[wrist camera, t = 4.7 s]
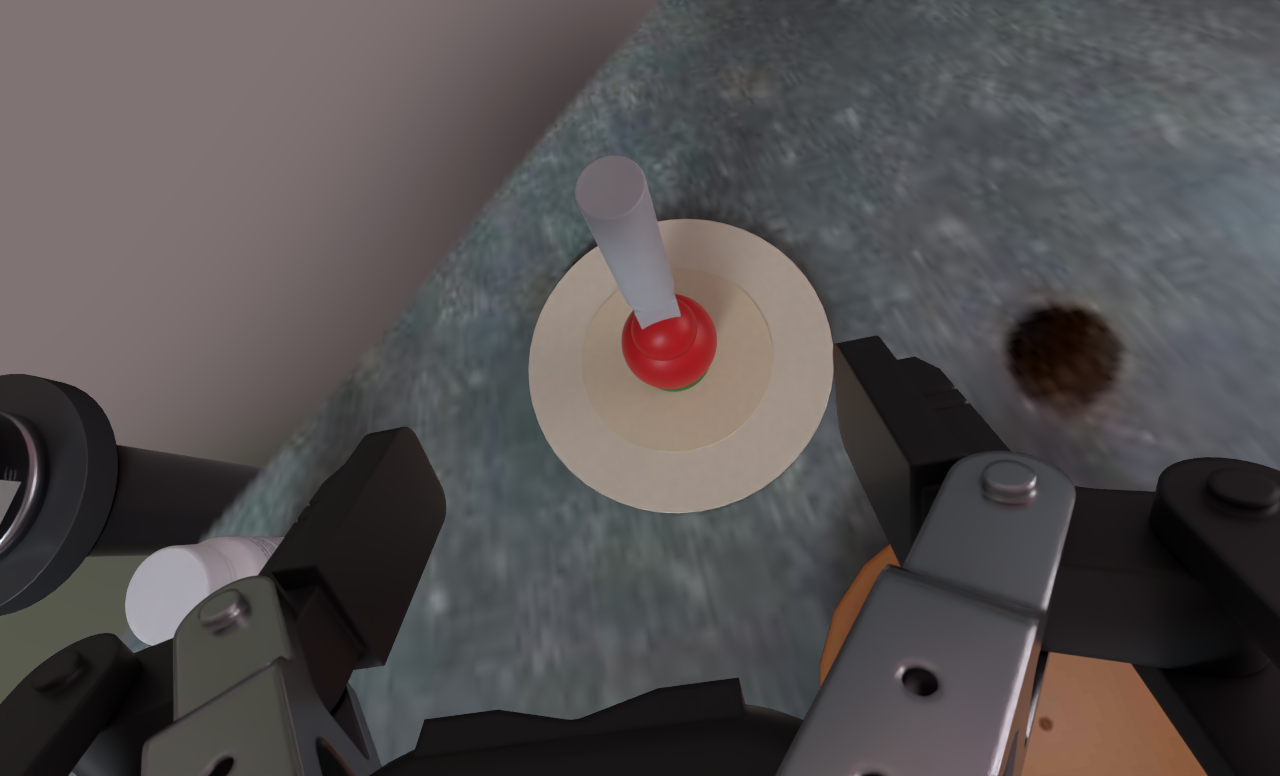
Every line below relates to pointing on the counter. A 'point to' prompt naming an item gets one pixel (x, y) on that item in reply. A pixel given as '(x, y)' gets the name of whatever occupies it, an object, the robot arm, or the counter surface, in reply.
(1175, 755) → the pie
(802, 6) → the counter surface
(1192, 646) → the robot arm
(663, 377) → the forked strawberry
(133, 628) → the pill bottle
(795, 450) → the plate
